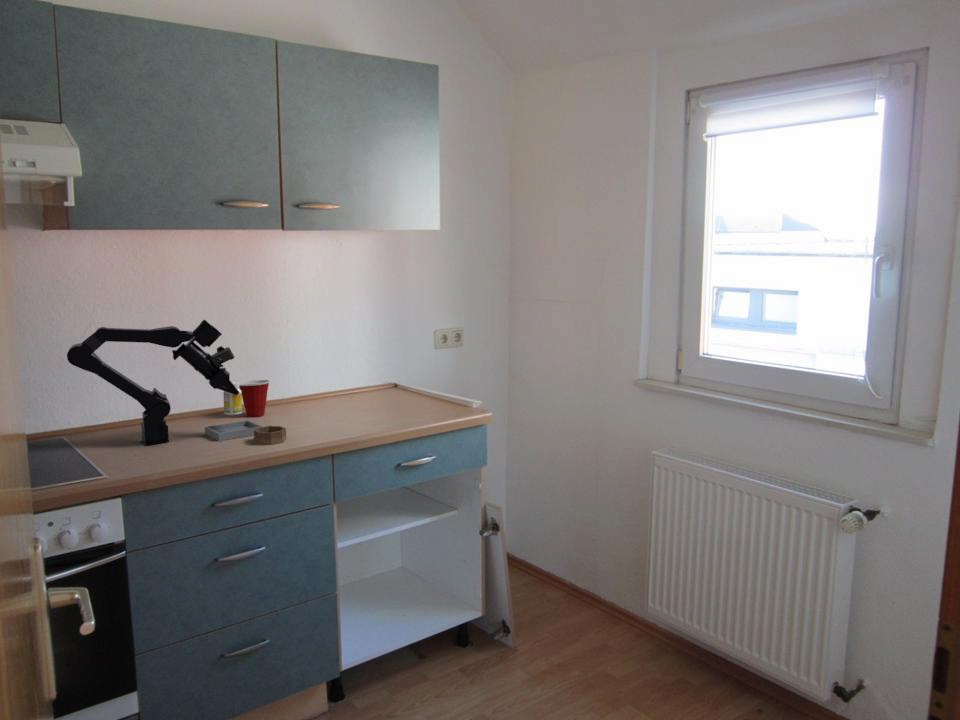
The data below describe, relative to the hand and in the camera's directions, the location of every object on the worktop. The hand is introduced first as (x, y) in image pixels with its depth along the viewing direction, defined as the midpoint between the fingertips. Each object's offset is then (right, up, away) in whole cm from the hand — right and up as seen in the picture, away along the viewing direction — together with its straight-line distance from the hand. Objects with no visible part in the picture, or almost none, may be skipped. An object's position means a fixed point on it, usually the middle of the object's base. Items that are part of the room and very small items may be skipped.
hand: (237, 392), depth 236 cm
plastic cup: (-2, -9, +27) cm, 29 cm away
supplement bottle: (-1, -7, 0) cm, 7 cm away
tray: (-1, -13, +2) cm, 13 cm away
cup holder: (+12, -14, -6) cm, 20 cm away
